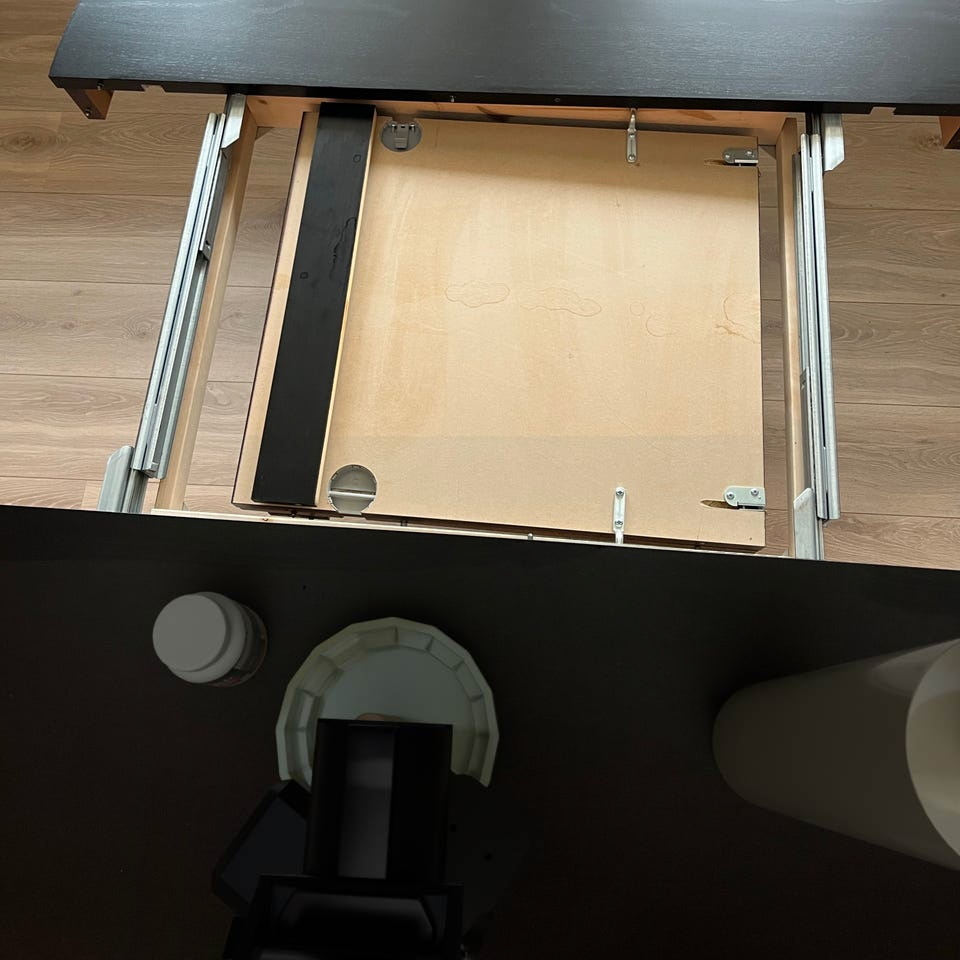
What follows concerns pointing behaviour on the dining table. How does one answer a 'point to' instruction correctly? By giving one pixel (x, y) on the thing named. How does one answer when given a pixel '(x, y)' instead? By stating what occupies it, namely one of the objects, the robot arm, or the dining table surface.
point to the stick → (379, 717)
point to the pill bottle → (210, 639)
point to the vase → (855, 749)
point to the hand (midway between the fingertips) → (415, 925)
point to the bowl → (390, 692)
